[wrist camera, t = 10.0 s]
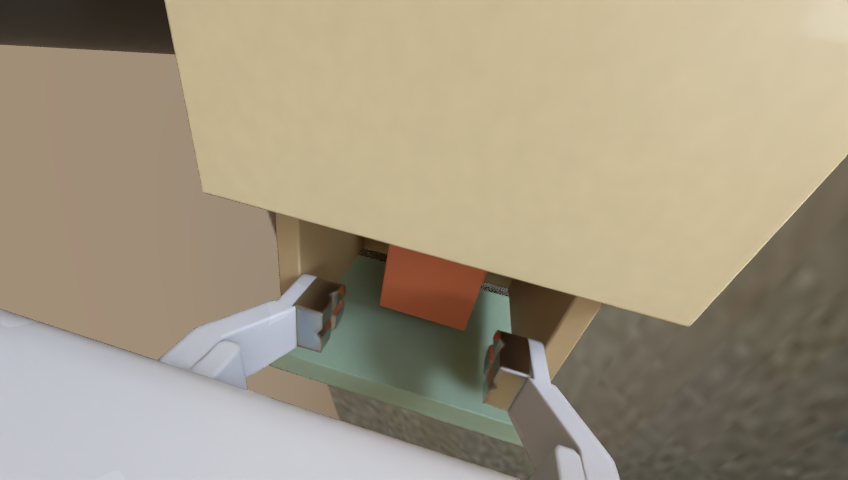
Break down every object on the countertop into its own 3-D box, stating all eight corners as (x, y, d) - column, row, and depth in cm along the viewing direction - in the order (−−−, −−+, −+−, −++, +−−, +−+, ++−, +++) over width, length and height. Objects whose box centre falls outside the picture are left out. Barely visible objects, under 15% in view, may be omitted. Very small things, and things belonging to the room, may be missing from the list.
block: (402, 259, 17) (378, 305, 14) (414, 194, 15) (390, 230, 12) (471, 278, 17) (464, 332, 13) (493, 215, 15) (492, 258, 11)
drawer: (495, 359, 21) (496, 494, 14) (341, 313, 22) (273, 419, 15) (637, 70, 12) (821, 67, 5) (362, 10, 13) (216, -58, 6)
